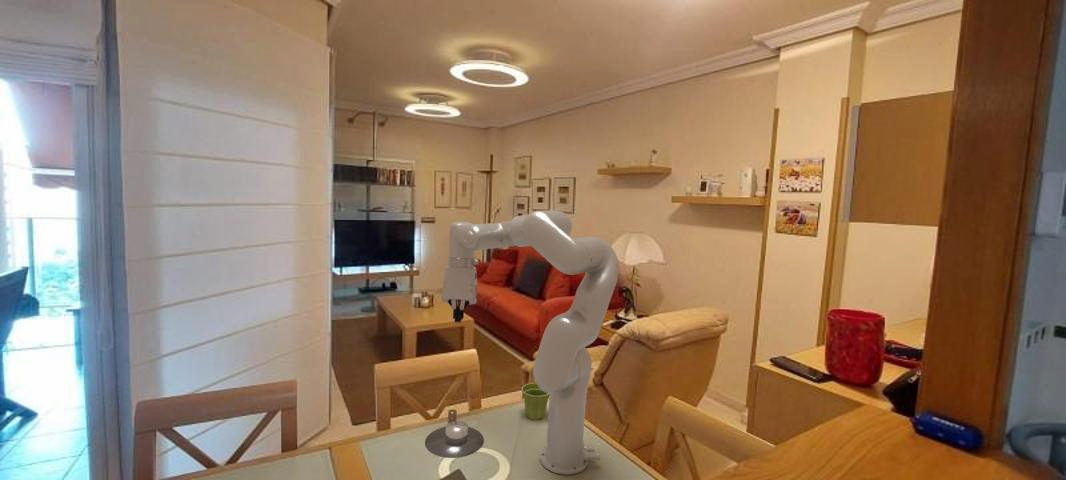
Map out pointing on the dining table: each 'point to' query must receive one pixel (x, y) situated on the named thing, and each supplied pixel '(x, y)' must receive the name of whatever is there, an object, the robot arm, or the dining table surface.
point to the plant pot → (534, 401)
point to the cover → (456, 433)
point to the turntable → (442, 449)
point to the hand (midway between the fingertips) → (458, 321)
